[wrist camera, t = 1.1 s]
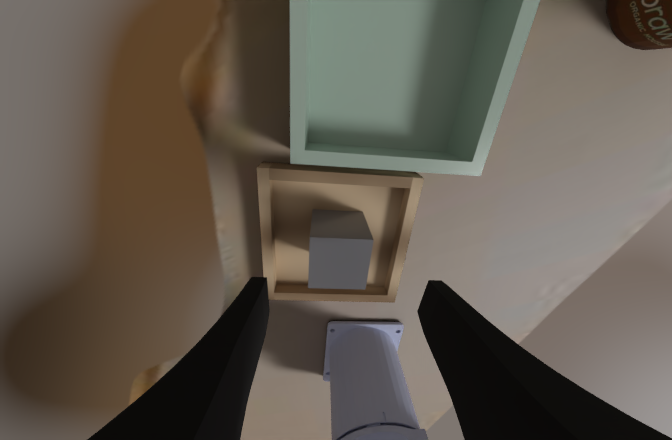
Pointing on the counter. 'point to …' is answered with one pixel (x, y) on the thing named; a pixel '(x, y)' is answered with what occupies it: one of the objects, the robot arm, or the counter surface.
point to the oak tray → (333, 194)
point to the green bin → (402, 81)
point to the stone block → (339, 250)
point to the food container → (641, 22)
